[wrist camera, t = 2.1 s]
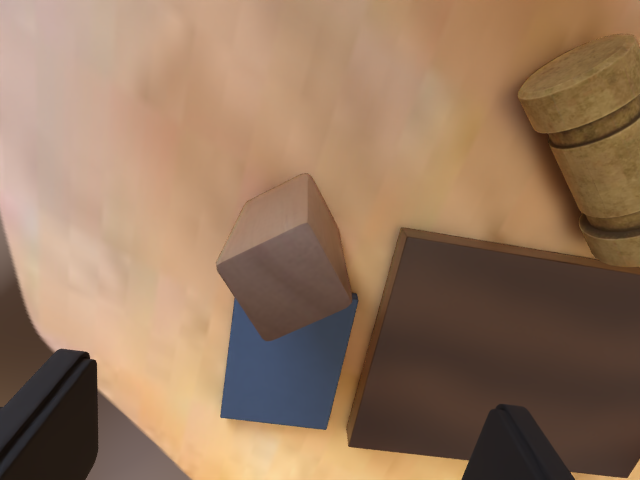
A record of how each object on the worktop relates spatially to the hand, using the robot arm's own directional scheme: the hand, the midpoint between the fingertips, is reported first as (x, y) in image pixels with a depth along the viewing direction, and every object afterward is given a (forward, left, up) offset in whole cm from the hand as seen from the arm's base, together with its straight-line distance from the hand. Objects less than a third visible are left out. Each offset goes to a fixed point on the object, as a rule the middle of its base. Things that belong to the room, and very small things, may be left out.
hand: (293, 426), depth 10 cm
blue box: (+9, 0, -14) cm, 16 cm away
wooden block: (0, -1, -14) cm, 14 cm away
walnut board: (+7, +15, -14) cm, 22 cm away
